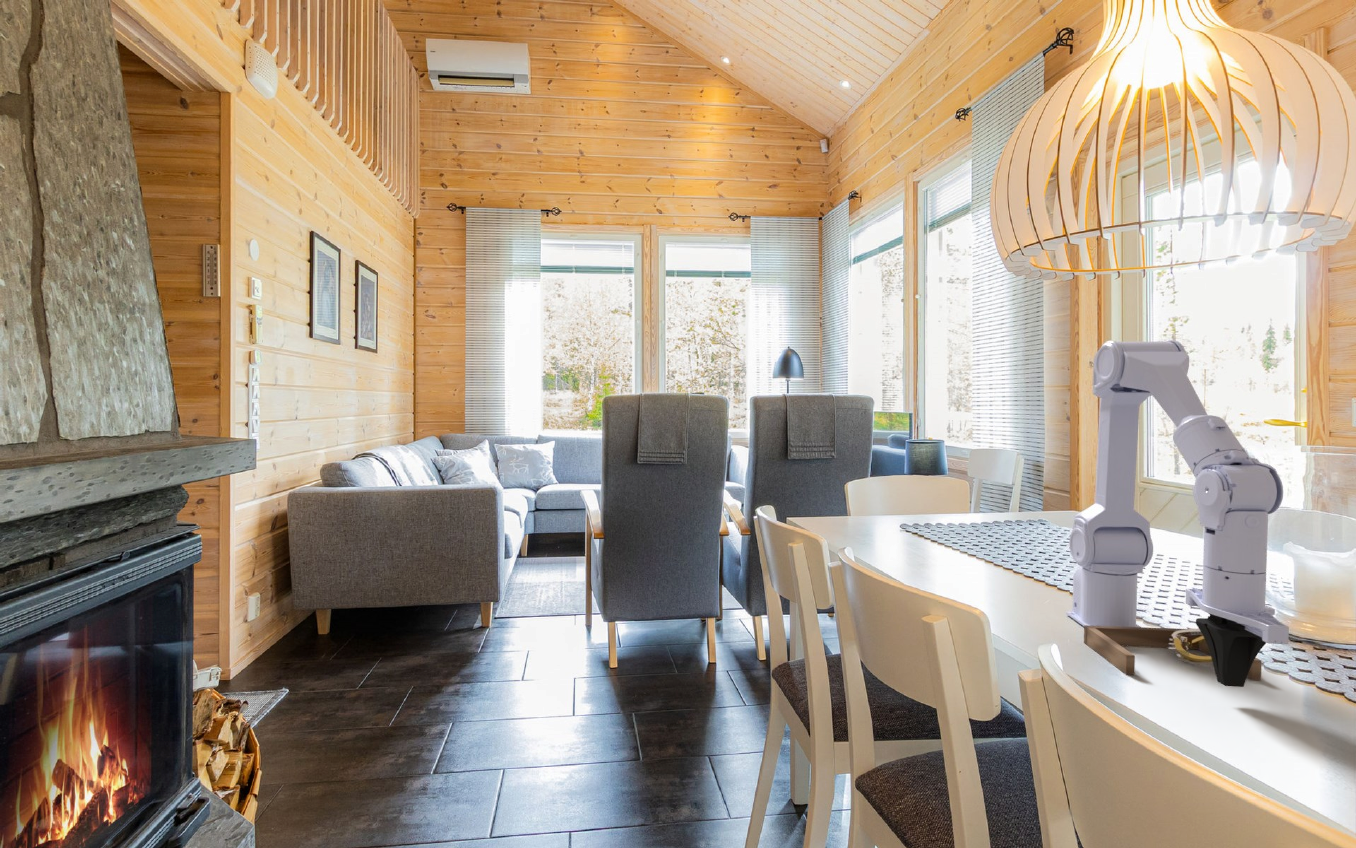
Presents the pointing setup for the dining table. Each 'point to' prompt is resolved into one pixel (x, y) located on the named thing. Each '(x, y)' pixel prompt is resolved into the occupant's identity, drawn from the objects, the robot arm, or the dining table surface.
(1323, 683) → the dining table surface
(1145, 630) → the brown u-shaped frame
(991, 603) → the dining table surface
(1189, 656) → the ring
